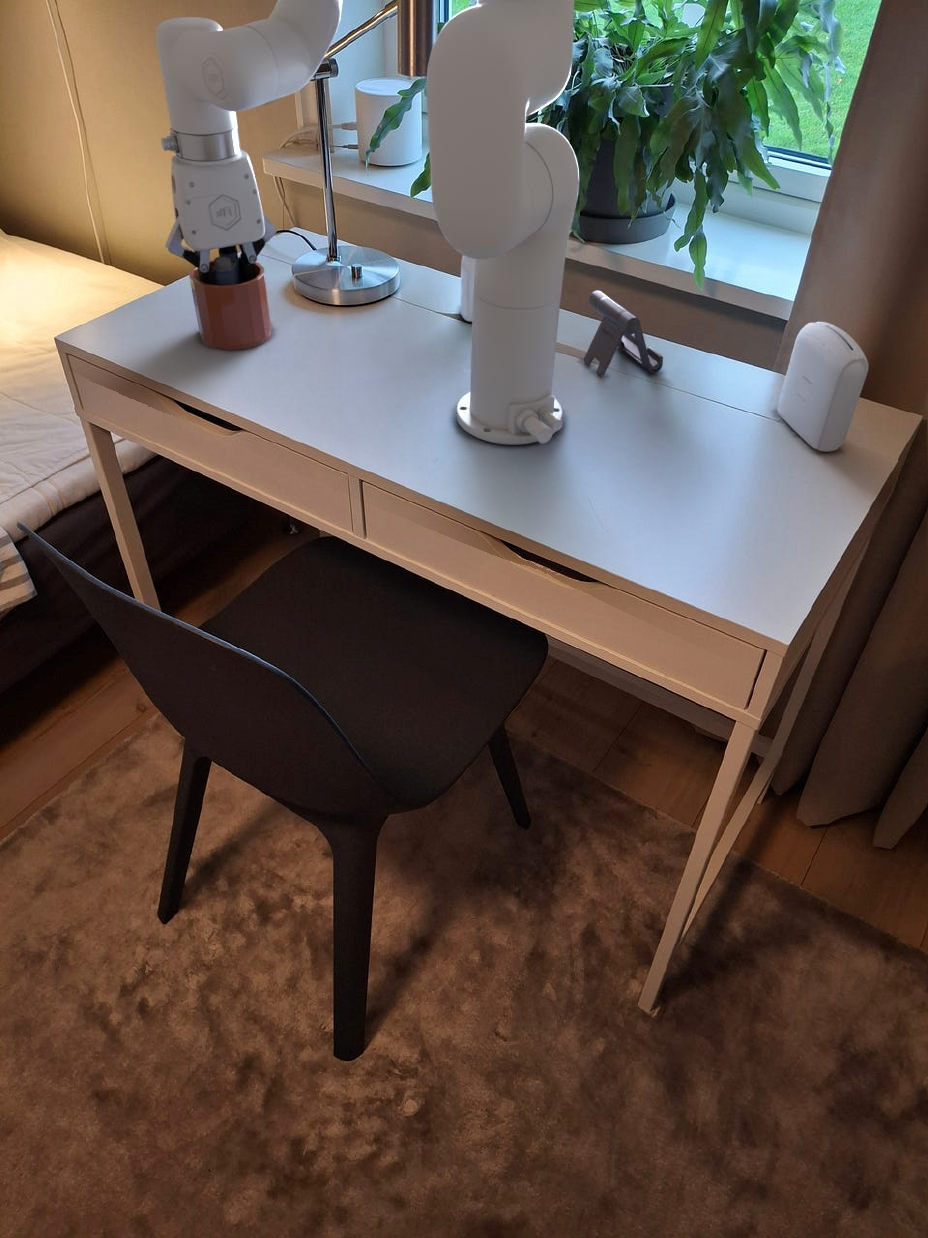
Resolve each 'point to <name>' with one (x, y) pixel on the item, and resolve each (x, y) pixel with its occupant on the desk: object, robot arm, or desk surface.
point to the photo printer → (823, 385)
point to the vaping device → (227, 267)
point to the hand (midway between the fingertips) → (230, 292)
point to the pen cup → (232, 311)
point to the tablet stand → (619, 336)
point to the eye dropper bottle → (467, 287)
